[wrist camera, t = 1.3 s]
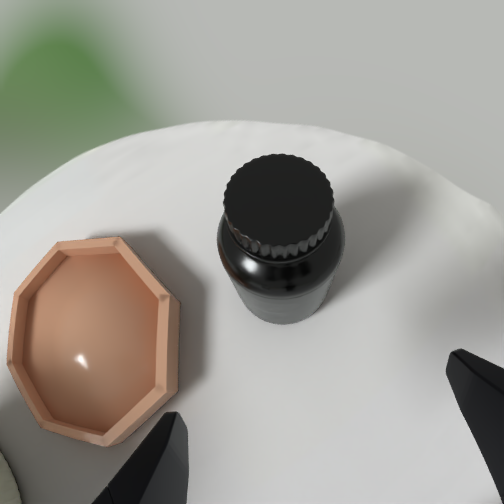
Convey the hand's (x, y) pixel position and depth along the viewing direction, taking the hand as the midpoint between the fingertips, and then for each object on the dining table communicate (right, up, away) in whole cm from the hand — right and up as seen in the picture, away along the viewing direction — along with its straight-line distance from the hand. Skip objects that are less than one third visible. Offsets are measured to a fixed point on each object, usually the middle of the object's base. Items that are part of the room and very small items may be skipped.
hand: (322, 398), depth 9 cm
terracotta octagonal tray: (-16, -3, +15) cm, 22 cm away
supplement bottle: (0, +2, +16) cm, 16 cm away
